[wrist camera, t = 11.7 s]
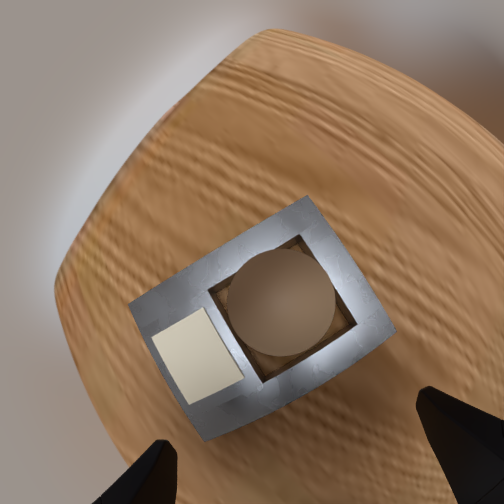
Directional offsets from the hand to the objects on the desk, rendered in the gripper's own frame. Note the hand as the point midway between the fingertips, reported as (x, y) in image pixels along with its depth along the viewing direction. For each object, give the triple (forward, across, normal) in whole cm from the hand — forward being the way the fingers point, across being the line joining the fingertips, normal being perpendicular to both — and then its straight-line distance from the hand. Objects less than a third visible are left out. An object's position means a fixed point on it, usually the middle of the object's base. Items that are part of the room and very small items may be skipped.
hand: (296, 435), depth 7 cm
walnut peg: (+13, 0, +2) cm, 13 cm away
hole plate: (+13, +1, +2) cm, 13 cm away
